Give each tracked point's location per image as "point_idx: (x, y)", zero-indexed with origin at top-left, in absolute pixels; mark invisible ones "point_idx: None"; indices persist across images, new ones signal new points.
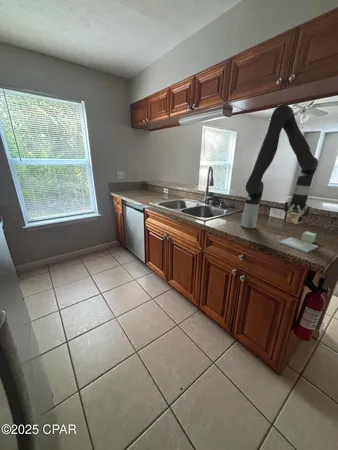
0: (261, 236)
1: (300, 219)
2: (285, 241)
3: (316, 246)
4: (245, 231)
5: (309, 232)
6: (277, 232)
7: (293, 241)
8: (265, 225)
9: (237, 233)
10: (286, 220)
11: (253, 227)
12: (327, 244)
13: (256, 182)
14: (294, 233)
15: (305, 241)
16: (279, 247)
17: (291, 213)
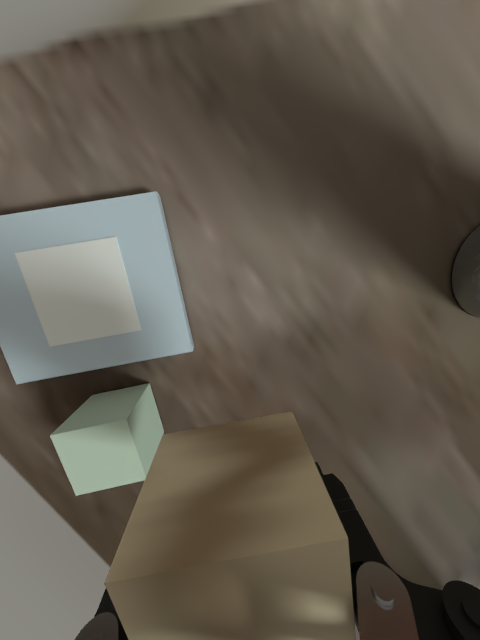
0: (312, 183)
1: None
2: (141, 235)
3: (8, 365)
4: (444, 146)
5: (119, 478)
6: (316, 371)
7: (120, 292)
8: (442, 407)
9: (451, 24)
10: (283, 421)
11: (460, 267)
12: (60, 479)
13: None
14: None
15: (119, 391)
16: (97, 119)
17: (303, 605)
